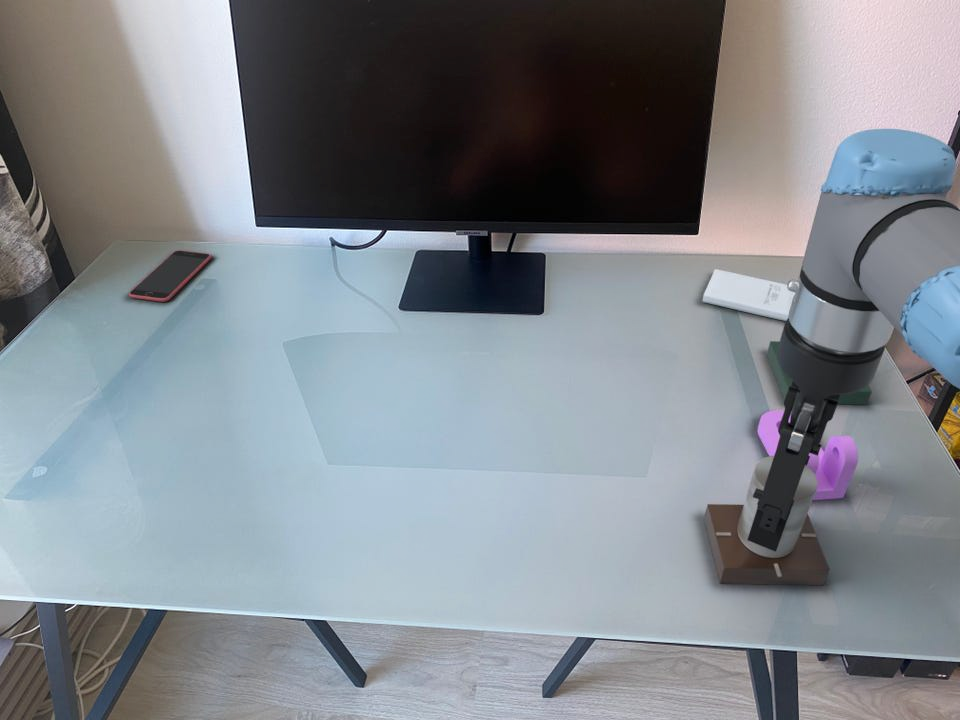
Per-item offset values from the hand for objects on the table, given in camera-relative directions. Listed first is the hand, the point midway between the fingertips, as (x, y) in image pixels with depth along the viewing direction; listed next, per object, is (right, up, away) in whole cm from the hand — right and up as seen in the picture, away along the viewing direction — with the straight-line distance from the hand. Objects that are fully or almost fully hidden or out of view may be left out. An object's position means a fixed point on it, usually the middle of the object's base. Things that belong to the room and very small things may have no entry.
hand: (771, 520), depth 74 cm
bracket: (+8, +4, +13) cm, 16 cm away
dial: (0, -2, +1) cm, 2 cm away
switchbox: (+15, +13, +24) cm, 31 cm away
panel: (0, -4, +3) cm, 5 cm away
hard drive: (+12, +25, +39) cm, 48 cm away
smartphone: (-78, +29, +47) cm, 95 cm away
